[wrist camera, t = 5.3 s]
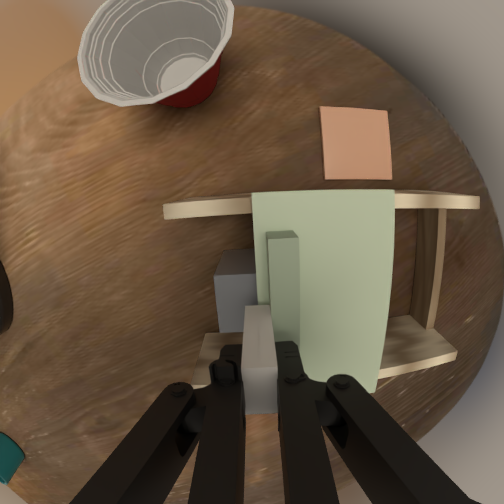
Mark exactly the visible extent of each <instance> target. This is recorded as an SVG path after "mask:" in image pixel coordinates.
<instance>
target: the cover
mask: <svg viewBox="0 0 504 504" xmlns="http://www.w3.org/2000/svg"><path fill="white" fill-rule="evenodd" d="M251 195H252V211H253V228H254V245H255V263H256V280H257V297H258V305H270V311H271V318H272V326H273V334H274V342H280V341H293V342H294V343H296V344H297V345H298V349H299V353H300V357H301V361H302V365H303V368H304V372H305V373H306V374H307V375H308V377H309V378H310V379H312V380H315V381H320V382H327V380H328V379H329V378H330V377H331V376H333V375H336V374H347V375H350V376H352V377H354V378H355V379H356V380H357V381H358V382H359V383H360V384H361V385H362V386H363V387H364V388H365V389H366V391H367V392H368V393H373V392H375V389H376V384H377V380H378V375H379V369H380V364H381V359H382V353H383V347H384V341H385V334H386V327H387V320H388V311H389V303H390V293H391V282H392V269H393V253H394V225H395V191H394V190H390V189H332V190H295V191H272V192H253V193H251Z"/></svg>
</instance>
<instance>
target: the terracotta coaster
mask: <svg viewBox="0 0 504 504" xmlns="http://www.w3.org/2000/svg"><path fill="white" fill-rule="evenodd" d="M319 118H320V130H321V143H322V158H323V177H324V179H380V180H392V165H391V148H390V136H389V125H388V116H387V111H382V110H371V109H359V108H344V107H319Z"/></svg>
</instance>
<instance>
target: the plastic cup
mask: <svg viewBox="0 0 504 504" xmlns="http://www.w3.org/2000/svg"><path fill="white" fill-rule="evenodd" d="M233 15H234V6H233V4H232V2H231V0H107V1H106V2H105V3H104V4H102V5H101V6H100V7H99V8H98V9H97V11H96V13H95V14H94V16H93V17H92V19H91V20H90V22H89V24H88V25H87V27H86V29H85V30H84V32H83V35H82V39H81V43H80V48H79V52H78V57H77V59H78V65H79V70H80V76H81V81H82V82H83V83H84V84H85V86H86V87H87V88H88V89H89V90H90V91H91V93H92V94H93V95H94V96H95V97H96V98H97V99H100V100H103V101H106V102H109V103H112V104H114V105H117V106H120V107H123V106H131V105H141V104H152V103H159V104H163V105H167V106H174V107H191V106H194V105H196V104H199V103H201V102H203V101H204V100H205V99H206V98H207V97H209V96H210V95H211V93H212V91H213V89H214V88H215V86H216V84H217V78H218V76H219V69H220V61H221V54H222V53H223V49H224V48H225V46H226V44H227V43H228V41H229V39H230V38H231V33H232V24H233Z"/></svg>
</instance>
